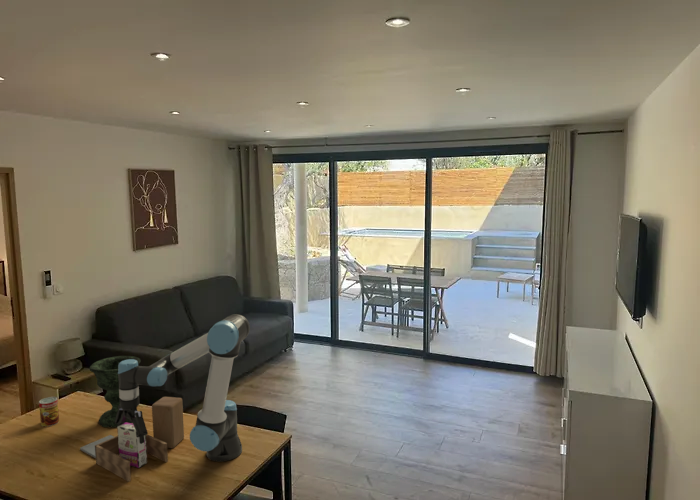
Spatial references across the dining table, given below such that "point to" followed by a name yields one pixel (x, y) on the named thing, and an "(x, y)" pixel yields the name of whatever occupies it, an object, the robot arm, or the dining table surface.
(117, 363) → the goblet
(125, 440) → the candy bar box
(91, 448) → the slate mat
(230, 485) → the dining table surface
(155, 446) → the brown u-shaped piece
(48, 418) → the canned food
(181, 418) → the wooden block
